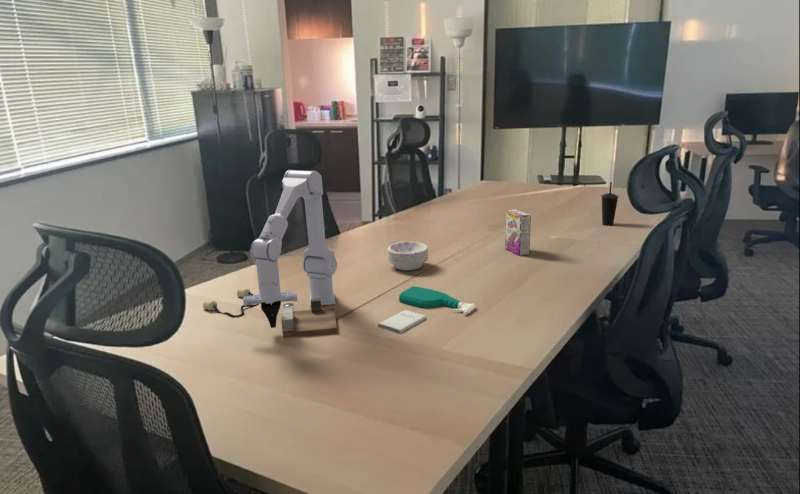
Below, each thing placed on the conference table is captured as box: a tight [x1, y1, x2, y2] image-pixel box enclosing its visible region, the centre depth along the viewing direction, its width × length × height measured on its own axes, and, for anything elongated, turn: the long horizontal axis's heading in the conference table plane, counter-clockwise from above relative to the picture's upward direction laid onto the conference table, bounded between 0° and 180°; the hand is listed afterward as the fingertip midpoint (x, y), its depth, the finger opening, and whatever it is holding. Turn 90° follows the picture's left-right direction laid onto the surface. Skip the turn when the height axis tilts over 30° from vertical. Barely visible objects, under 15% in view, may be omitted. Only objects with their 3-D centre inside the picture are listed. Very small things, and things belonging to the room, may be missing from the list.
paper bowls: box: [387, 241, 429, 271], centre depth 212 cm, size 15×15×8 cm
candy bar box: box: [504, 208, 532, 257], centre depth 225 cm, size 11×5×16 cm, turn 22°
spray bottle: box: [398, 285, 476, 316], centre depth 177 cm, size 3×11×24 cm
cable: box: [202, 287, 260, 318], centre depth 180 cm, size 16×16×4 cm
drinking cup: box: [600, 181, 619, 227], centre depth 262 cm, size 8×8×20 cm
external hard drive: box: [377, 309, 427, 334], centre depth 164 cm, size 2×8×12 cm
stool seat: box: [282, 298, 338, 339], centre depth 164 cm, size 15×15×5 cm
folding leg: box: [281, 302, 295, 333], centre depth 162 cm, size 12×3×4 cm, turn 9°
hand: (273, 326), depth 158 cm, fingers closed
